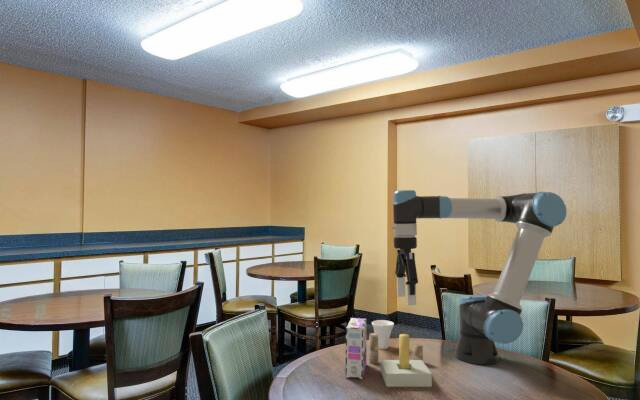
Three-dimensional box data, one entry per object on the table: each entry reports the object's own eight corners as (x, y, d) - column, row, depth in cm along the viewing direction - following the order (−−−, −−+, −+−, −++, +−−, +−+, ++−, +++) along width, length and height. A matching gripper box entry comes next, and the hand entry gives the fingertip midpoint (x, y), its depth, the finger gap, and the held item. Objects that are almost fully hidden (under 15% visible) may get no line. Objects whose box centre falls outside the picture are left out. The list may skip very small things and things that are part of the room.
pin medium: (377, 360, 151) (377, 333, 151) (379, 364, 148) (379, 335, 148) (368, 360, 151) (368, 333, 151) (370, 364, 148) (370, 335, 148)
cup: (371, 350, 162) (371, 324, 163) (372, 343, 172) (372, 318, 172) (394, 351, 161) (394, 325, 161) (394, 344, 170) (393, 319, 170)
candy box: (363, 379, 134) (363, 328, 134) (345, 378, 135) (345, 327, 135) (366, 364, 147) (367, 317, 148) (350, 363, 148) (350, 317, 149)
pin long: (408, 377, 136) (408, 334, 136) (410, 381, 133) (410, 336, 133) (398, 377, 136) (398, 333, 136) (400, 381, 133) (400, 336, 133)
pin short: (421, 361, 151) (421, 344, 151) (423, 364, 148) (423, 347, 148) (412, 361, 151) (412, 344, 151) (414, 364, 148) (414, 347, 148)
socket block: (421, 372, 140) (421, 360, 141) (431, 386, 128) (431, 373, 129) (380, 371, 140) (380, 360, 140) (386, 386, 128) (386, 373, 128)
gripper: (386, 234, 151) (387, 293, 150) (403, 238, 126) (404, 309, 125) (406, 234, 151) (407, 293, 151) (427, 238, 126) (428, 308, 126)
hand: (406, 300), depth 138 cm, fingers open, 13 cm apart
